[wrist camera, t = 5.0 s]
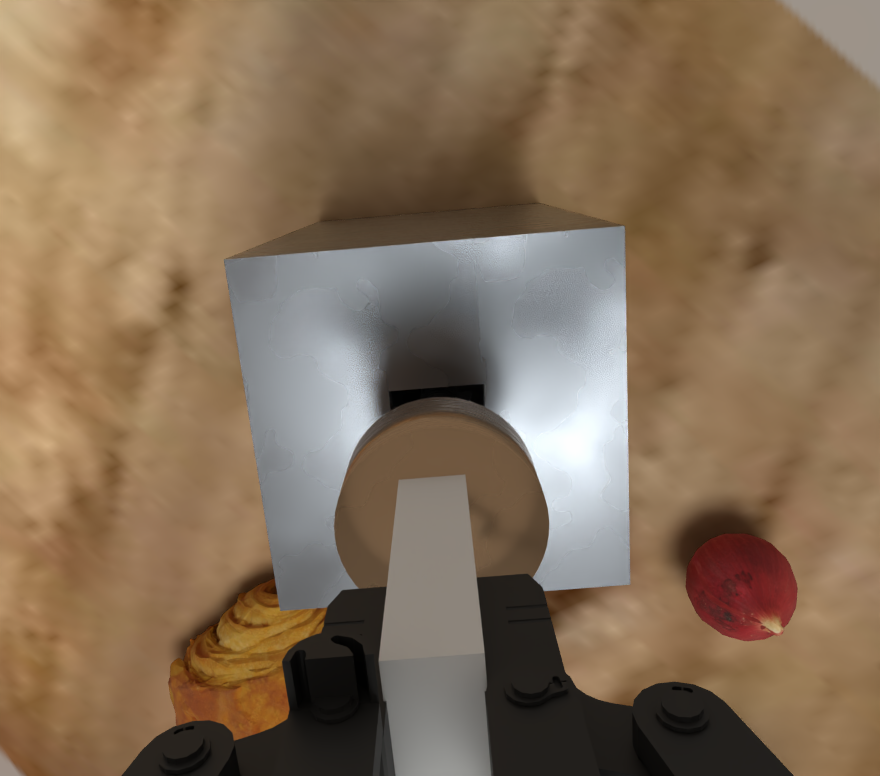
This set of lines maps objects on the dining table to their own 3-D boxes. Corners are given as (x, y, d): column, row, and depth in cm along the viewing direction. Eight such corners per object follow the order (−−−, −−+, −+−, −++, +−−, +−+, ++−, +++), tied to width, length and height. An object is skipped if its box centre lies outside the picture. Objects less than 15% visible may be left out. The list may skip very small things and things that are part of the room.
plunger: (522, 244, 36) (628, 328, 16) (531, 418, 38) (633, 677, 19) (339, 259, 36) (223, 361, 16) (359, 432, 38) (280, 703, 19)
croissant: (392, 541, 49) (385, 590, 41) (426, 761, 51) (425, 849, 43) (172, 572, 49) (122, 627, 41) (214, 790, 51) (175, 884, 43)
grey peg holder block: (539, 202, 41) (624, 225, 22) (548, 413, 44) (629, 584, 26) (318, 221, 41) (223, 259, 22) (344, 430, 44) (280, 610, 26)
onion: (668, 597, 47) (714, 680, 40) (670, 514, 46) (718, 583, 38) (761, 592, 47) (825, 673, 39) (766, 508, 46) (834, 576, 38)
